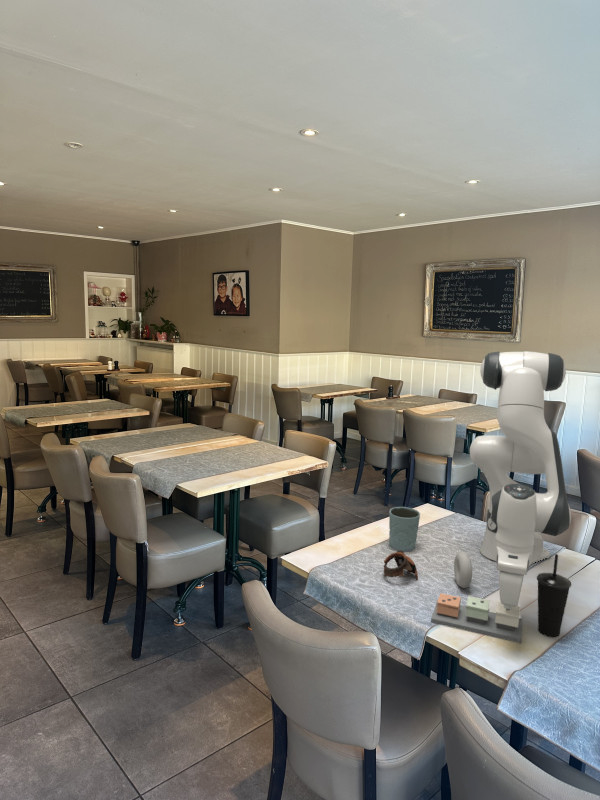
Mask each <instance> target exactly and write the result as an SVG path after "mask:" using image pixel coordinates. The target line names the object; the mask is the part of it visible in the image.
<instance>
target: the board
mask: <svg viewBox="0 0 600 800" xmlns="http://www.w3.org/2000/svg"><path fill="white" fill-rule="evenodd" d="M437 602H438V599H437V601H436V603H435V606H434V609H433V612H432V615H431V618H430V623H433V624H437V625H442V626H446V627H450V628H455V629H457V630H463V631H468V632H472V633H476V634H481V635H485V636H489V637H493V638H498V639H502V640H504V641H505V640H506V641H511V642H515V643H519V644H522V633H523V632H522V630H523V628H522V627H523V625H522V624H523V618H520V617H519V623H518V628H517V627H513V626H508V625H504V624H499V623H495V619H496V612H494V611H490V610H489V613H488V620H487V621H486V620H482V619H477V618H473V617H468V616H465V615H466V606H465V605H462V604H460V610H459V614H458V617H453V616H449V615H445V614H440V613H437Z"/></svg>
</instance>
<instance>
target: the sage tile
mask: <svg viewBox="0 0 600 800" xmlns="http://www.w3.org/2000/svg"><path fill="white" fill-rule="evenodd" d="M490 601H491V600H489V599H485V598H480V597H475V596H471V595H468V596H467V599H466V604H465V605H466V615H465V616H468V617H473V618H477V619H482V620H486V621H487V620H488V613H489V611H490V605H491V604H490V603H491V602H490Z"/></svg>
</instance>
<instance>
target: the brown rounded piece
mask: <svg viewBox="0 0 600 800" xmlns="http://www.w3.org/2000/svg"><path fill="white" fill-rule="evenodd" d="M393 559H394V561H395V563H396V565H397V566H396V567H394V568H393V567H392V568H390V567H388V566H387V565H388V563H389V562H390V561H391V560H393ZM383 562H384V565H383V575H384V577H389V578H397V577H403V578H405V572H404V570H405V571H406V572H407V573H409V574H414V576H415V581H418V580H419V577H418V576H419V575H418V570H417V566H416V564H415V562H414V560H413V559H412V558H410V557H409V556H408V555H406V554H405V553H404V552H403V551H402V550H399V551H397V550H396V552H392V553H391V554H389V555H388V556H386V558H385V559H384V561H383Z"/></svg>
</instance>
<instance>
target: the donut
mask: <svg viewBox="0 0 600 800" xmlns="http://www.w3.org/2000/svg"><path fill="white" fill-rule="evenodd" d="M453 570H454V571H453V572H454V579H455V582H456V584H457V585H458V586H459V587H460V588H465V589H466V588H469V587H470V585H471V584H472V580H473V563H472V559H471V557H470V555H469V554H468V552H466V551H464V550H463V551H458V552H456V554H455V556H454V561H453Z"/></svg>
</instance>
